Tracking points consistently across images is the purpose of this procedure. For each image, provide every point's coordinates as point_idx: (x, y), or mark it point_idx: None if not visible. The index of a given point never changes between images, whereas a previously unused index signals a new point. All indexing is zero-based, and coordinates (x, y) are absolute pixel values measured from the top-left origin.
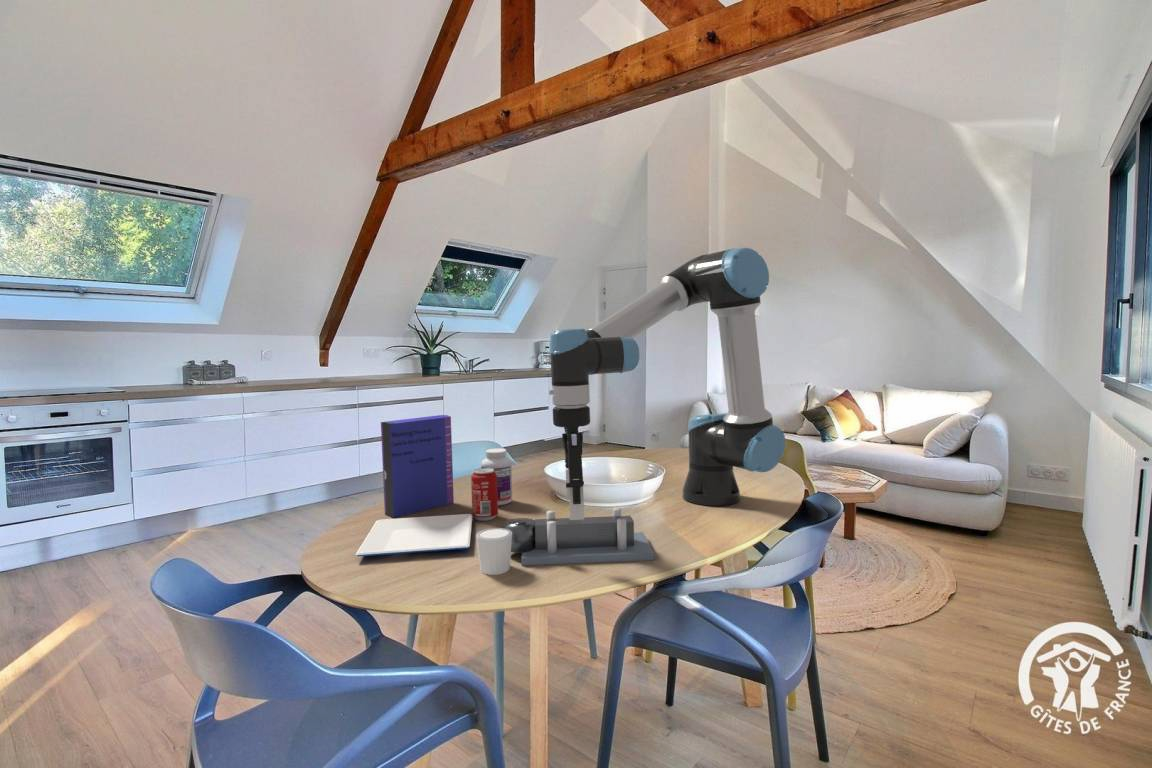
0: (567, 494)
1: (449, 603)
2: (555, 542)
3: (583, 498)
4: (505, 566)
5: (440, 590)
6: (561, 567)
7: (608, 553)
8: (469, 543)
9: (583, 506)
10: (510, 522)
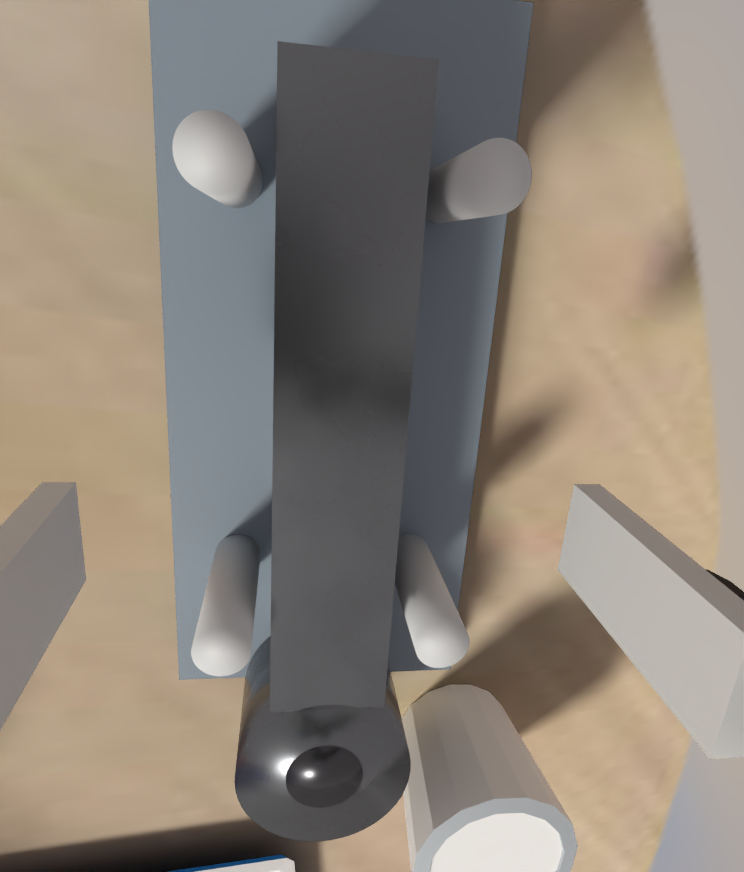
0: (71, 601)
1: (668, 806)
2: (433, 563)
3: (697, 563)
4: (501, 711)
5: (577, 843)
6: (494, 501)
7: (486, 286)
8: (256, 864)
9: (654, 530)
10: (308, 818)
